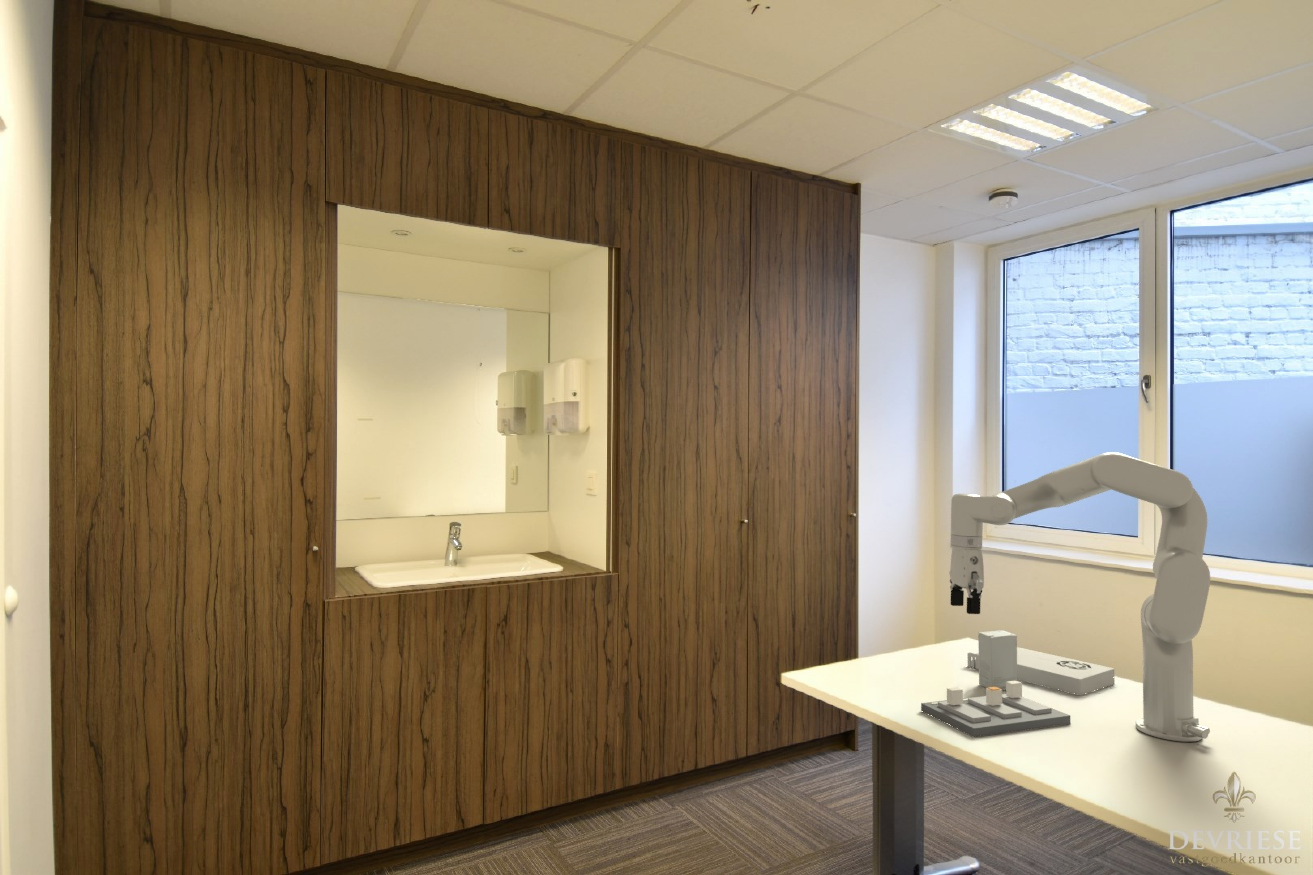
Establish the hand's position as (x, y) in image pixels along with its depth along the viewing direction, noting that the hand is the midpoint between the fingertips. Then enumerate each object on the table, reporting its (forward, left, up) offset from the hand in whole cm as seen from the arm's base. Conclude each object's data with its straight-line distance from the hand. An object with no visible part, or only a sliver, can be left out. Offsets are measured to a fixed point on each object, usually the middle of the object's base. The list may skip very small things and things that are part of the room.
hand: (964, 609), depth 191 cm
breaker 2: (-7, -9, -21) cm, 23 cm away
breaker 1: (-7, +9, -21) cm, 24 cm away
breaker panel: (-10, 0, -24) cm, 26 cm away
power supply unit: (+15, -39, -25) cm, 48 cm away
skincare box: (+9, -19, -24) cm, 32 cm away
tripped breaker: (-10, 0, -21) cm, 23 cm away
